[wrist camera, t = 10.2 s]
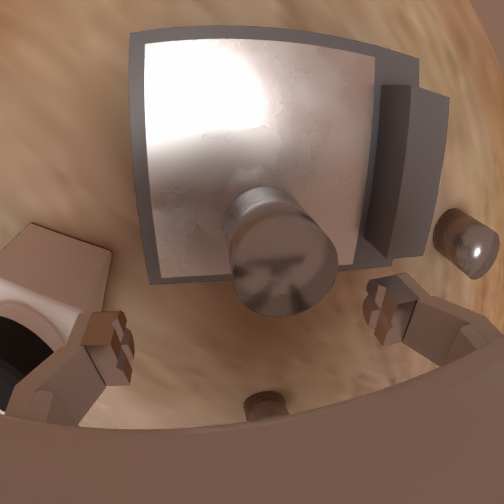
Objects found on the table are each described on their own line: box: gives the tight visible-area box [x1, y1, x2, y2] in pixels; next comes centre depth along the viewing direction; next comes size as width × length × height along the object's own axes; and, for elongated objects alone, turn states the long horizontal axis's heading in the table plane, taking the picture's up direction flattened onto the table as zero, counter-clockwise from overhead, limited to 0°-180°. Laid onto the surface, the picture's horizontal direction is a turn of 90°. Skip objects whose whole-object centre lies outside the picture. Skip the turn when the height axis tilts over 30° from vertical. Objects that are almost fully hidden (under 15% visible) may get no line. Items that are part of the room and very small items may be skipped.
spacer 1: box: [223, 187, 338, 317], centre depth 14 cm, size 4×4×5 cm
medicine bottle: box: [0, 224, 112, 415], centre depth 14 cm, size 7×7×12 cm
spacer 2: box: [244, 391, 289, 422], centre depth 28 cm, size 4×4×5 cm
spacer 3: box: [433, 208, 500, 280], centre depth 21 cm, size 4×4×5 cm
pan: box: [145, 39, 375, 278], centre depth 15 cm, size 13×12×1 cm
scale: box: [129, 26, 450, 285], centre depth 16 cm, size 15×18×6 cm
